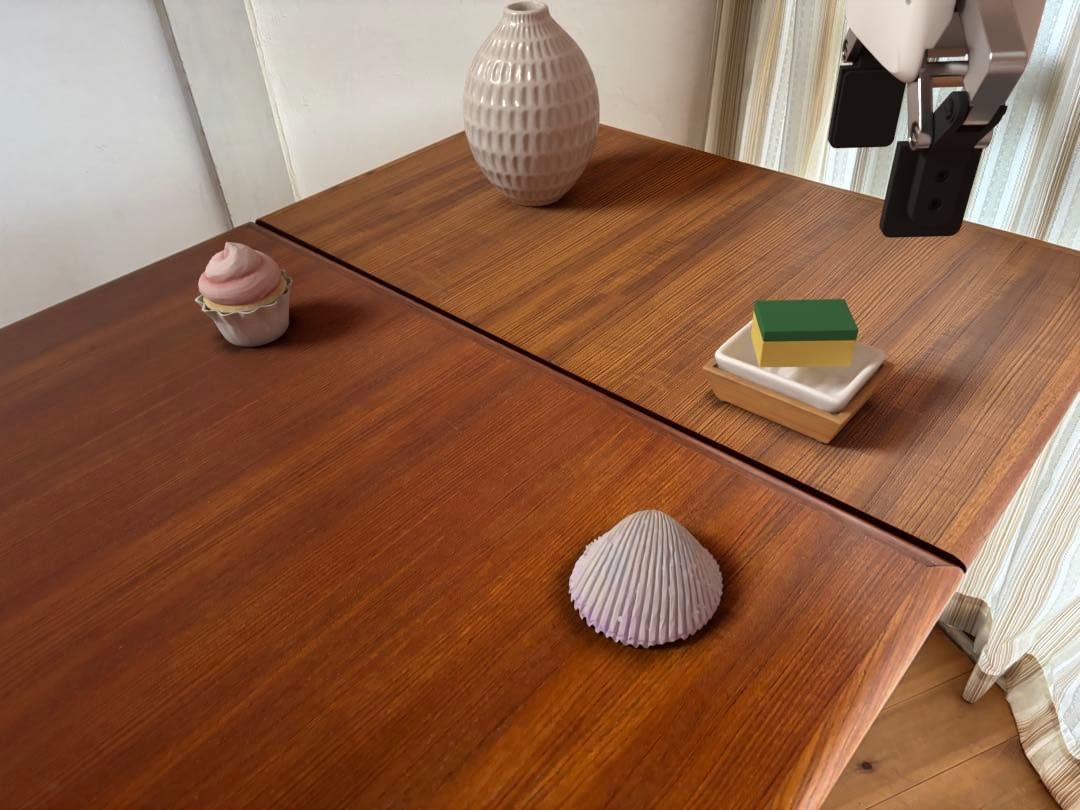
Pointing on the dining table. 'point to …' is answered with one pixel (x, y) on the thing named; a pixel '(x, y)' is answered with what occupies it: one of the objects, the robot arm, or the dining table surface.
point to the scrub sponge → (803, 333)
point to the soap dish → (796, 386)
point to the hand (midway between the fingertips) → (885, 185)
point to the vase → (531, 107)
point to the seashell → (646, 581)
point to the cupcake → (245, 295)
